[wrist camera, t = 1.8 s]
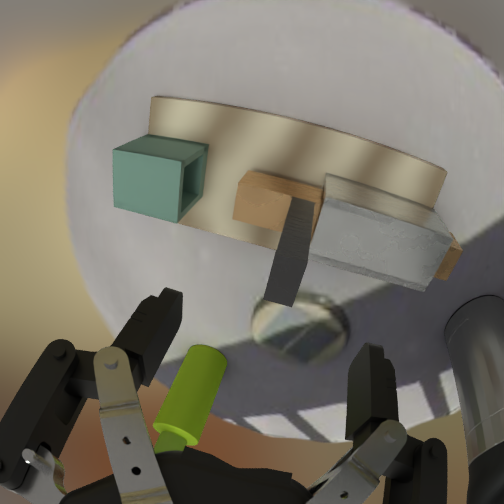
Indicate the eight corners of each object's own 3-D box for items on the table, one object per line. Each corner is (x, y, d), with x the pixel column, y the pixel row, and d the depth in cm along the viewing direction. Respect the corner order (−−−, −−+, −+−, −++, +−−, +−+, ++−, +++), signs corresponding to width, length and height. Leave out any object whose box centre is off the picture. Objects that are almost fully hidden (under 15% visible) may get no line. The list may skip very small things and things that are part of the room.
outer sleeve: (432, 208, 23) (453, 239, 18) (411, 254, 26) (424, 292, 21) (326, 172, 24) (325, 196, 19) (310, 224, 27) (305, 258, 22)
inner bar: (451, 232, 22) (497, 316, 13) (437, 260, 24) (471, 349, 15) (248, 170, 24) (198, 232, 15) (242, 203, 25) (194, 279, 17)
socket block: (209, 144, 25) (181, 161, 20) (202, 196, 28) (177, 223, 23) (148, 133, 25) (112, 149, 21) (146, 183, 28) (113, 206, 24)
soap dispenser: (215, 339, 39) (157, 475, 23) (233, 370, 43) (188, 494, 26) (178, 339, 41) (116, 461, 25) (198, 369, 45) (149, 483, 28)
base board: (443, 168, 22) (447, 172, 21) (394, 277, 29) (396, 283, 28) (156, 95, 24) (151, 97, 23) (150, 210, 31) (145, 214, 30)
